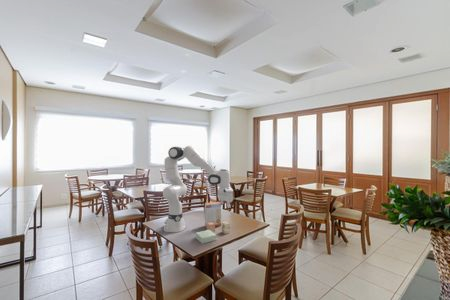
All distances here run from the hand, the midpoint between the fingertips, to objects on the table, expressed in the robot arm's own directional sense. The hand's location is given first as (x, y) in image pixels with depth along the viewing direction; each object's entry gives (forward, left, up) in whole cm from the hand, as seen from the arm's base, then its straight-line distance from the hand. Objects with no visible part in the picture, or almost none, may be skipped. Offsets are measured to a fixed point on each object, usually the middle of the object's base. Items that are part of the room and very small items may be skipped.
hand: (224, 205), depth 180 cm
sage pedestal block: (+3, -19, -23) cm, 30 cm away
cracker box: (-19, -1, -23) cm, 30 cm away
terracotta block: (-8, -9, -23) cm, 26 cm away
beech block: (0, +1, -23) cm, 23 cm away
